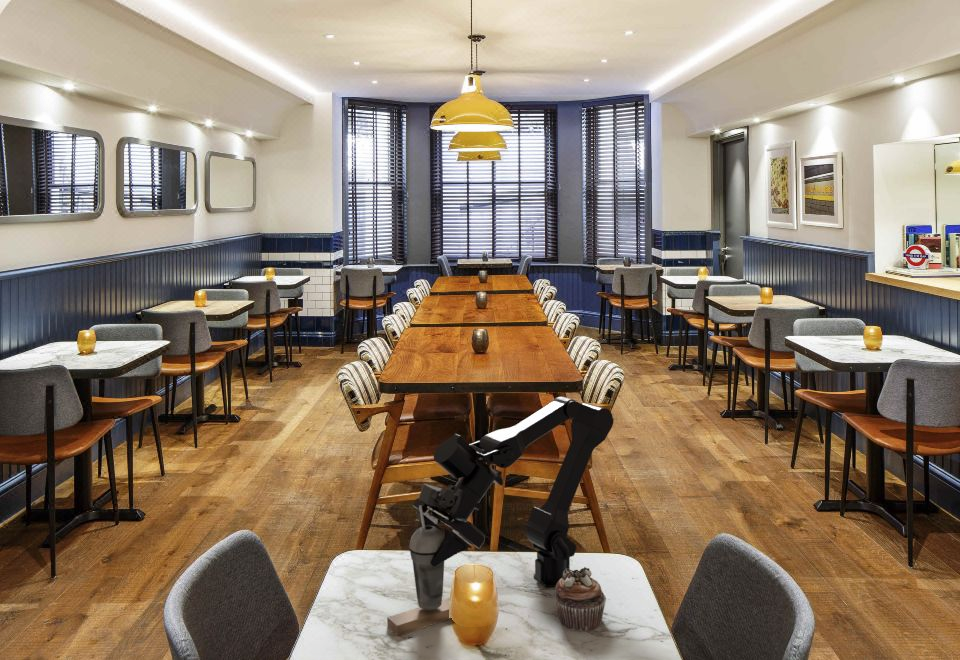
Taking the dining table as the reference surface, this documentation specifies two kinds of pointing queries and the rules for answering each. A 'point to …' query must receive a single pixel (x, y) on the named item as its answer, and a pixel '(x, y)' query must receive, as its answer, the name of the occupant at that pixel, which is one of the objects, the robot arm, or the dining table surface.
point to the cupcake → (579, 600)
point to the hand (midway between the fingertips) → (422, 558)
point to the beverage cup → (427, 565)
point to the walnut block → (418, 618)
